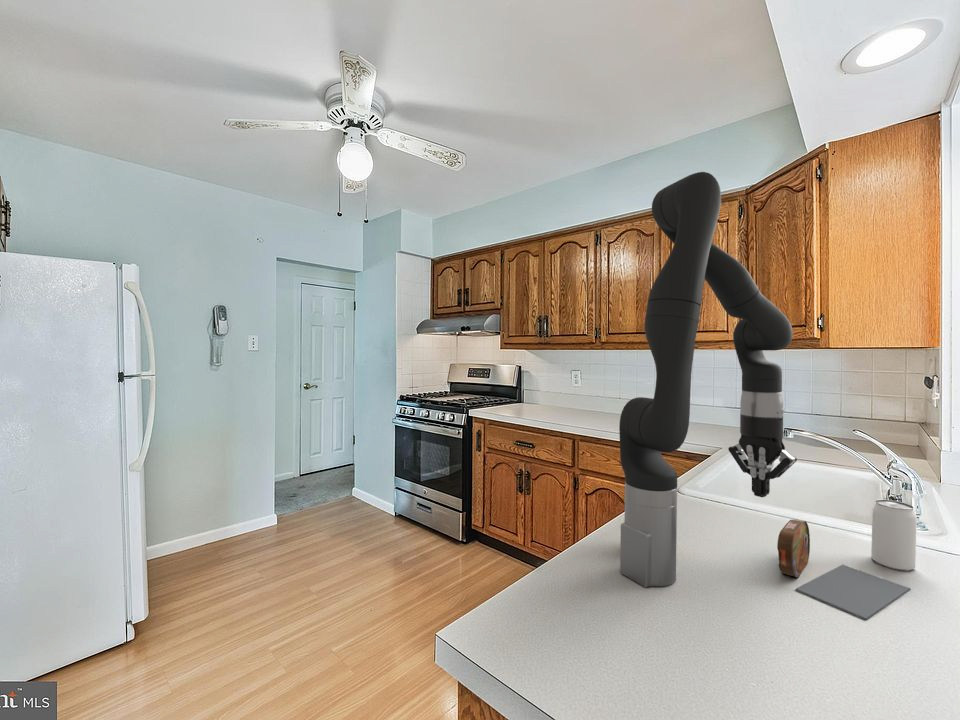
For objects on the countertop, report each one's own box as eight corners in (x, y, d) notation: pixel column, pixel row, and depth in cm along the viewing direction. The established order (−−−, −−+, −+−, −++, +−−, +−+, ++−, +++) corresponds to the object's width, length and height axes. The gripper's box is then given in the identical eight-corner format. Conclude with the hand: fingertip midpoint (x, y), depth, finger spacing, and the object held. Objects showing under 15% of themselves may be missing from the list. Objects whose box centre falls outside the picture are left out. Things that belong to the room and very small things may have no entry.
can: (906, 560, 90) (908, 501, 90) (922, 574, 84) (923, 511, 84) (866, 553, 93) (867, 496, 93) (878, 567, 87) (879, 506, 87)
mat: (866, 620, 70) (866, 618, 70) (795, 590, 79) (795, 588, 79) (910, 589, 79) (910, 588, 79) (842, 565, 88) (842, 564, 88)
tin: (794, 584, 81) (795, 538, 81) (774, 578, 83) (774, 533, 83) (811, 558, 91) (812, 517, 91) (792, 553, 93) (793, 513, 93)
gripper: (719, 410, 96) (719, 490, 96) (786, 419, 84) (785, 509, 85) (739, 408, 100) (739, 484, 100) (806, 415, 88) (805, 502, 89)
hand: (760, 495), depth 93 cm, fingers closed
